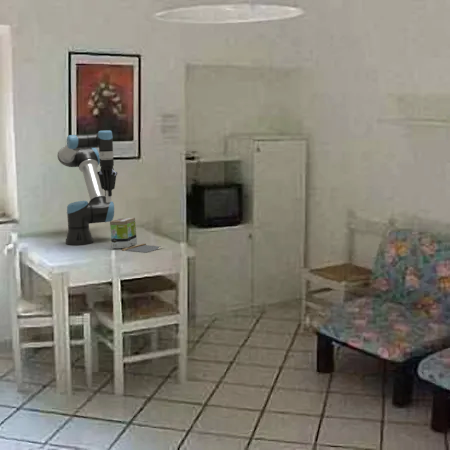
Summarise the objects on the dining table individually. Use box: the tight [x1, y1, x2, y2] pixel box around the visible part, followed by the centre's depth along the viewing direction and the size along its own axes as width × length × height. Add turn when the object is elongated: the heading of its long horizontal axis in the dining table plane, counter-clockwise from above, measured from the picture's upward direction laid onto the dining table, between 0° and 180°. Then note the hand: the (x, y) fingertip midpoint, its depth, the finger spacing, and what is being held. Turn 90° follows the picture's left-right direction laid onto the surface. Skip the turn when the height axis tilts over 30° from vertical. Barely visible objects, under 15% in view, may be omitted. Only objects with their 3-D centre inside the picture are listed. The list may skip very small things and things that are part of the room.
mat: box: [126, 244, 160, 254], centre depth 409 cm, size 14×16×1 cm
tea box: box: [109, 217, 138, 249], centre depth 416 cm, size 15×10×15 cm, turn 170°
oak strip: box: [121, 243, 147, 252], centre depth 413 cm, size 2×18×1 cm, turn 146°
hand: (108, 202), depth 418 cm, fingers closed
